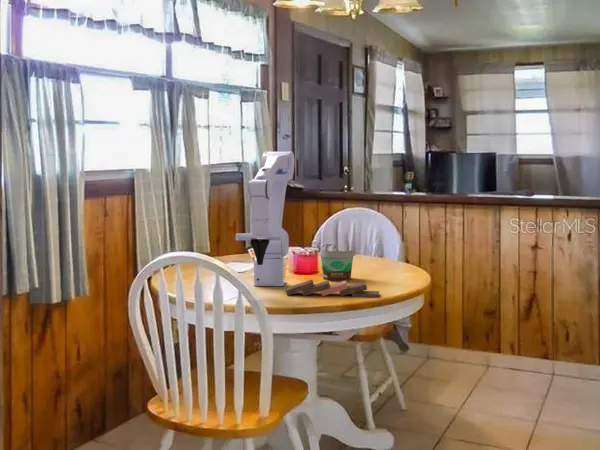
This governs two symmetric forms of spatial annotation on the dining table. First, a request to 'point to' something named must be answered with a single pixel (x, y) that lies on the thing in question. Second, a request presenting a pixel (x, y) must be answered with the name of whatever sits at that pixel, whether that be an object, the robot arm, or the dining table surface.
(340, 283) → the domino
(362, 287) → the domino
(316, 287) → the domino
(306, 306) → the dining table surface
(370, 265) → the dining table surface
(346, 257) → the food container
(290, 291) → the domino
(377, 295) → the domino
